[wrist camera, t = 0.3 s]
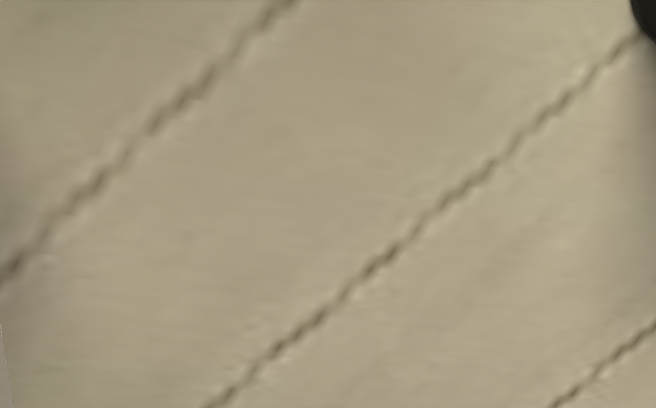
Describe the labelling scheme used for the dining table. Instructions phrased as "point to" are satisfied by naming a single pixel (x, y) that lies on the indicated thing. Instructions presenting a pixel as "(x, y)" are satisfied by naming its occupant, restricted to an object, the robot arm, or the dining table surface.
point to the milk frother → (646, 16)
